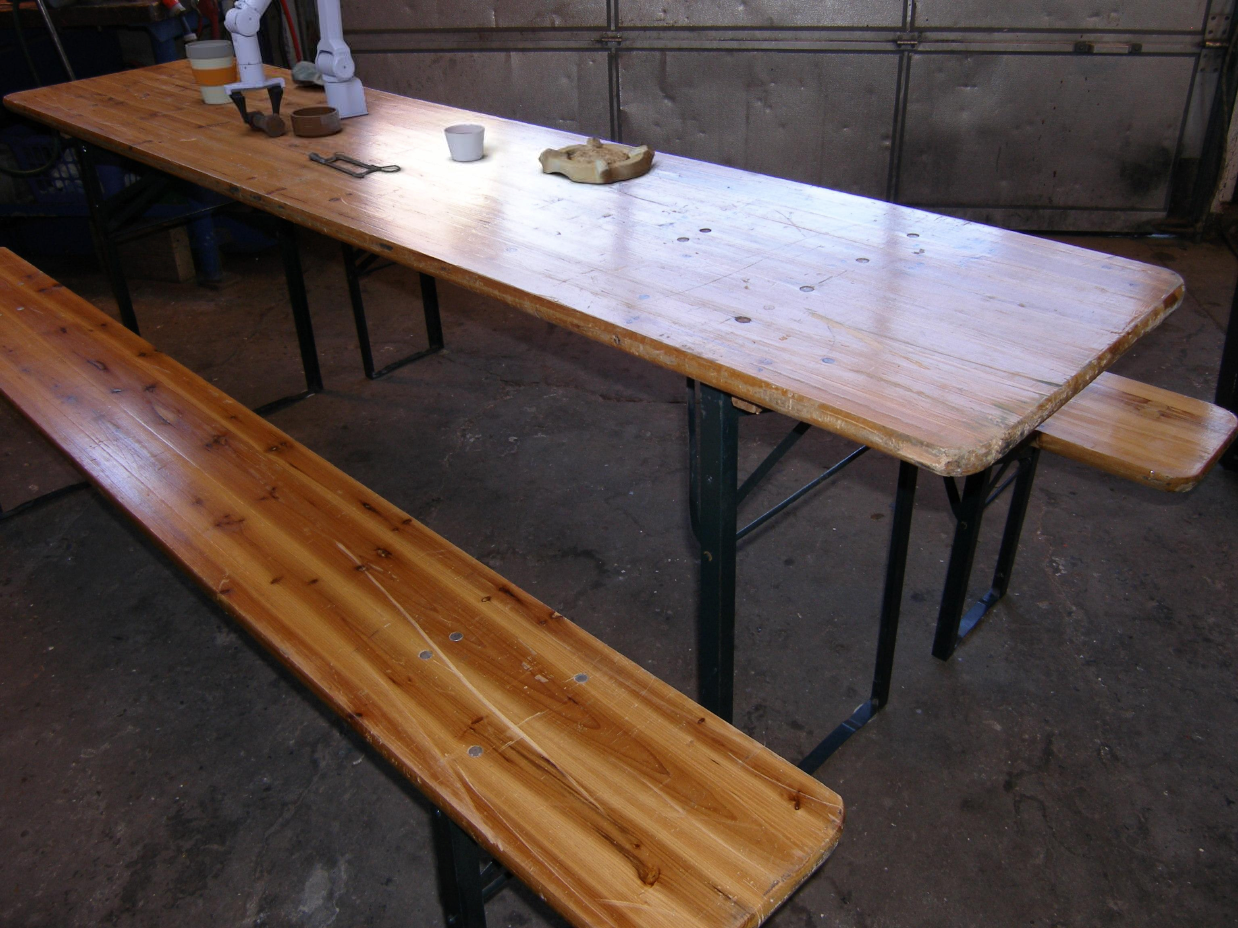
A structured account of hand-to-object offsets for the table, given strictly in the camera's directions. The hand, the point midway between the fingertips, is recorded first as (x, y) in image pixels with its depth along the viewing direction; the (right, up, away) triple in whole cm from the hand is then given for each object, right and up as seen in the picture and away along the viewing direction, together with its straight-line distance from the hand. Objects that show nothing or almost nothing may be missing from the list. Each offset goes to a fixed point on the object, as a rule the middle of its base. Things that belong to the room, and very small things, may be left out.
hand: (262, 121), depth 242 cm
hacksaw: (+30, -19, -26) cm, 44 cm away
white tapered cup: (+55, -17, -23) cm, 62 cm away
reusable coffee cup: (-24, +17, +33) cm, 44 cm away
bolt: (0, -2, +2) cm, 3 cm away
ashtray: (+85, -22, -33) cm, 94 cm away
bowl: (+14, -3, 0) cm, 14 cm away
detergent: (+4, +24, +43) cm, 49 cm away
